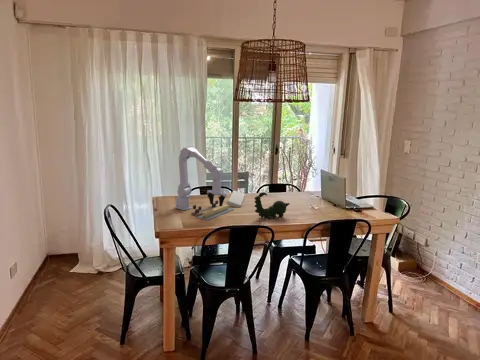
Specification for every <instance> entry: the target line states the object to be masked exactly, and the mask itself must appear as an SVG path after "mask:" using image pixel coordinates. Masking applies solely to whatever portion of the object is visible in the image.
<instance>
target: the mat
mask: <svg viewBox="0 0 480 360" xmlns="http://www.w3.org/2000/svg"><path fill="white" fill-rule="evenodd" d="M234 210H235V209H234V208H232V207H229V209H227V210H225V211H222V212H220V213H217V214H215V215H212V216H210V217H207V218H204V217H203V215H200V216H196V219H200V220H205V221H211V220H212V219H215V218H218V217H220V216H222V215H225V214H228V213H231V212H232V211H234Z"/></svg>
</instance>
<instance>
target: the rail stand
mask: <svg viewBox="0 0 480 360" xmlns="http://www.w3.org/2000/svg"><path fill="white" fill-rule="evenodd" d="M218 205H219V199H218V200H217V199H216V200H214V202H213V204H211V205H209V206H206V207H204V208H202V206H201V205H199V206H198V208H197V205H196V204H194V205H192V210H194V211H192V212H191V215H192V216H196V217H198V216H201V215H203V212H206V211H208V210H211V209H214V208H216V207H219V206H218Z"/></svg>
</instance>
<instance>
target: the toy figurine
mask: <svg viewBox="0 0 480 360" xmlns="http://www.w3.org/2000/svg"><path fill="white" fill-rule="evenodd" d="M264 196H268V194H267V193H266V192H263V191H261V192H260V193H259V194H258V195H256V196H255V197H254V204H255V205H254V208H256V209H254V212H255V213H256V214H258V217H260V218H261V219H263V218H264V217H265V218H266V219H268V220H269V219H270V217H272V218H274V219H275V218H276V217H277V216H278V217H281V218H283V217H284V214H286V211H287V207H288V206H289V205H290V202H284V201H282V200H276V201H275V202H273V204H272V205H270V206H268V207H267V208H264V207H263V205H262V200H261V198H262V197H264Z"/></svg>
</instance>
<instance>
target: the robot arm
mask: <svg viewBox="0 0 480 360" xmlns="http://www.w3.org/2000/svg"><path fill="white" fill-rule="evenodd" d="M179 152H180V153H179V156H178V165H179V166H178V167H179V185H178V186H177V196H176V198H175V207H174V208H175V209H179V210H182V211H187V210H190V209H193V206H190V201H191V199H190V196H191V194H192V187H191V184H190V183H189V176H188V175H189V174H188V160H189V159H191V158H195V159H196V160H198V161H199V162H200V163H201V164H202V165H203V167H204V168H205V169H206V170H207V171H208V172H209V173H210V174H211V177H212V187H211V188H212V189H211V190H210V189H209V190H206V191H207V192H206V195H207V197H208V200H209V203H210V205H212V204H213V203H214V197H215V196H216V195H217V196H218V205H219V206H220V207H221V206H222V205H224V201H225V199H226V197H227V193H226V192H222V175H223V172H224V171H223V169H222V168H221V167H219V166H217V165H215V164H214V163H213V161H212V160H207V159H206V158H205V157H204V156H203V155H202V154H201V153H200V152H199V151H198V149H196V148H195V147H194V146H188V147H183V148H182V149H181V150H179Z"/></svg>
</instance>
